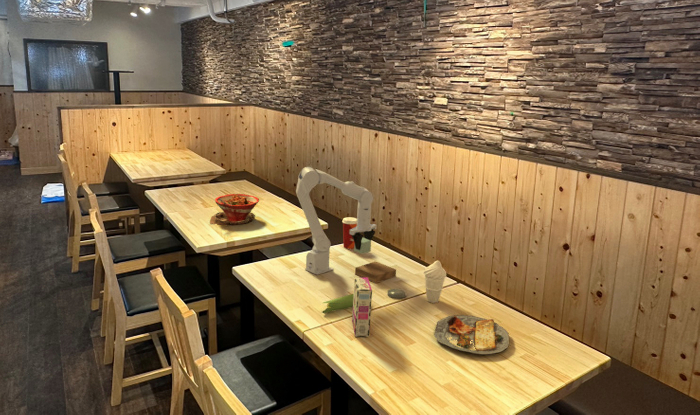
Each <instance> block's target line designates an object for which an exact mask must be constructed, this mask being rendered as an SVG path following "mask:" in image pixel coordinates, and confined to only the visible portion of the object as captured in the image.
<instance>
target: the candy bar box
mask: <svg viewBox="0 0 700 415" xmlns="http://www.w3.org/2000/svg"><path fill="white" fill-rule="evenodd" d="M353 279H354V280H353V281H354V285H353V293H354V296H353V307H352V314H351V316H352V319H351V323H352V329H353V332H354V333H353V335H354V337H355V338H357V337H358V338H369V337H370V329H371V328H370V327H371V313H372V312H371V311H372V298H373V289H372V286H371V281H370V280H369V279H368V278H367V277H360V276H355V277H354V278H353Z"/></svg>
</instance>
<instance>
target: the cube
mask: <svg viewBox="0 0 700 415" xmlns="http://www.w3.org/2000/svg"><path fill="white" fill-rule="evenodd" d="M371 249H372V240H369V239H366V238H364V237H363V238H362V241H361V248H360V250H358V249H356V247H355V243H354V248H353V251H354V252H356V253H359V254H362V255H364V254H367V253H369V252H371V251H372V250H371Z"/></svg>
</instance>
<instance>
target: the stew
mask: <svg viewBox="0 0 700 415" xmlns="http://www.w3.org/2000/svg"><path fill="white" fill-rule="evenodd" d="M214 201H215V203H216V205H217V207H219V208H220V209H221V210H222V212H221V211H220V212H219V211H218V212H217V213H215V214H213V215H212V216H211V217H210V220H209V223H210V225H215V224H217V225H216V226H222V225H227V226H228V225H229V226H241V225H247V224H249V223H251V222H253V221H254V219H255V218H256V214H255V213H253V212H252V210H253V209H255V207H256V206H257V205H258V203H259V202H260V199H259V198H258V197H257V196H254V195H249V194H244V193H229V194H225V195H220V196H217V197H216V198H215V199H214ZM229 226H228V227H229Z"/></svg>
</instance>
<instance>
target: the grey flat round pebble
mask: <svg viewBox="0 0 700 415" xmlns="http://www.w3.org/2000/svg"><path fill="white" fill-rule="evenodd" d="M386 293H387V294H386V295H387V296H388V297H389V298H391V299H394V300H400V299H402V300H403V299H404V298H406V295H407V294H406V293H407V292H406V291H405V290H404V289H402V288H390V289H388V290H387V292H386Z"/></svg>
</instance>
